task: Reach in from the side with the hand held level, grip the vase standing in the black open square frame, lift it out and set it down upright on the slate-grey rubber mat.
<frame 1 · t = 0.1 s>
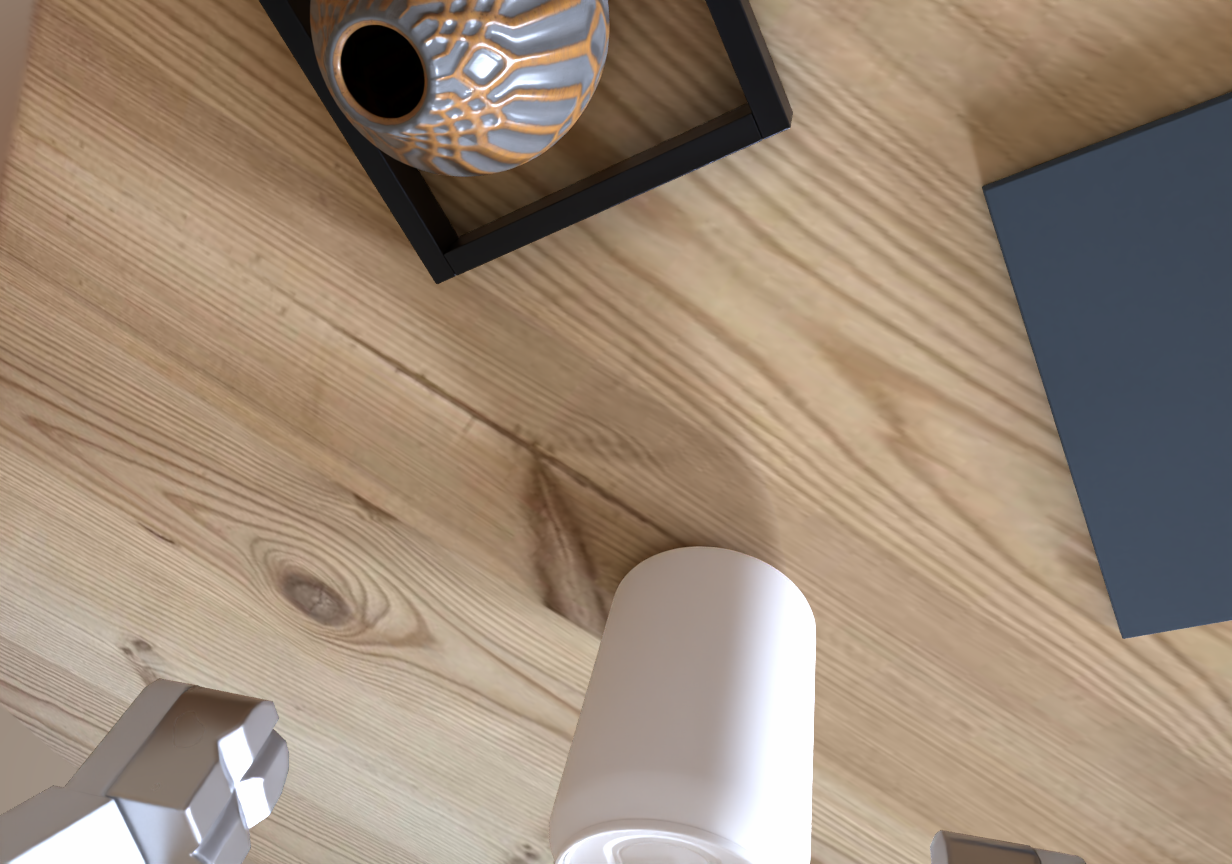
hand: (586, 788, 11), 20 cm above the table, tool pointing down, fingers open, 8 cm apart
vase: (511, 2, 25), resting in black open square frame
black open square frame: (509, 3, 25), on the table
beverage can: (714, 609, 36), on the table
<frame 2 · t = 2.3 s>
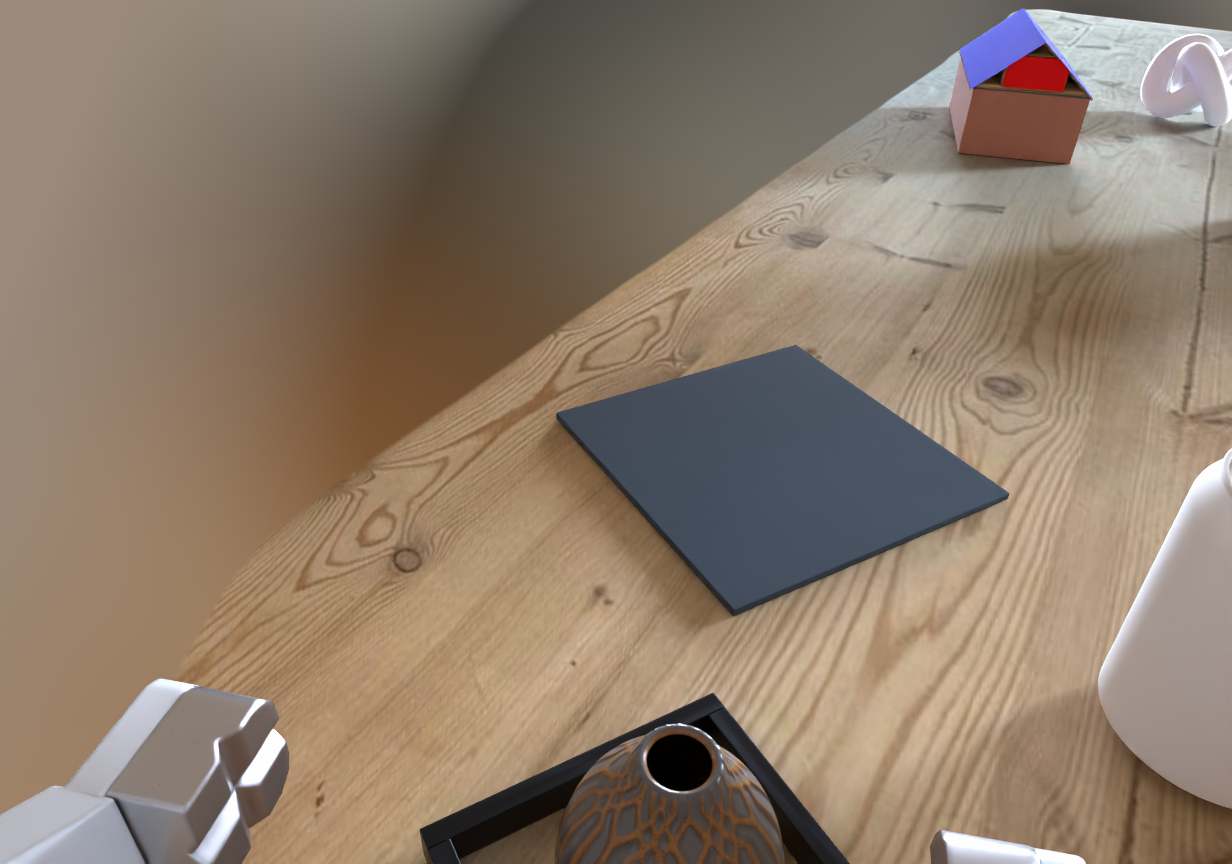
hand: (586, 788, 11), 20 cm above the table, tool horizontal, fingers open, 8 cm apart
white knot sculpture: (1188, 121, 110), on the table
beverage can: (1199, 734, 36), on the table
mat: (770, 456, 51), on the table
house: (1003, 134, 104), on the table
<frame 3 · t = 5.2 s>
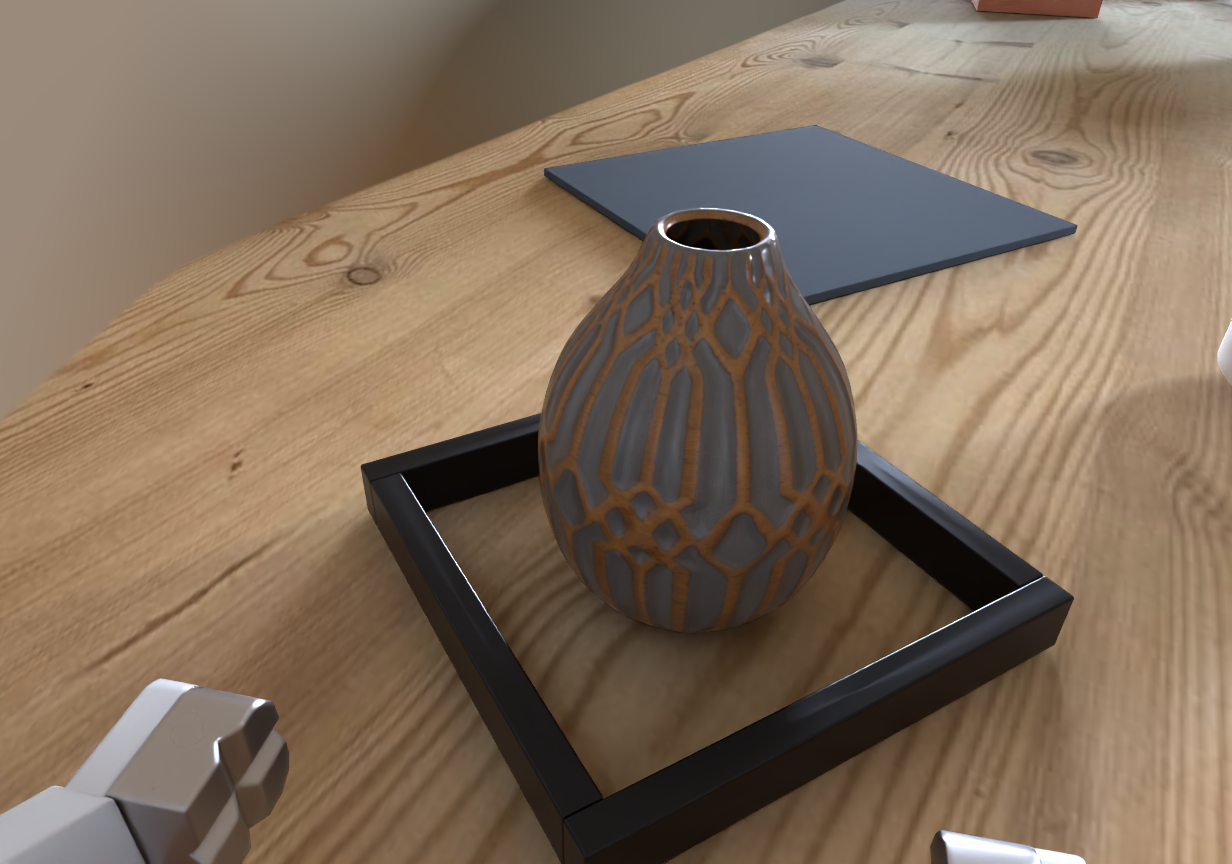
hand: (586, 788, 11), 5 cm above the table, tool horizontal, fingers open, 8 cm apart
vase: (684, 578, 22), resting in black open square frame
black open square frame: (684, 572, 22), on the table
mat: (793, 202, 43), on the table
house: (1023, 1, 97), on the table
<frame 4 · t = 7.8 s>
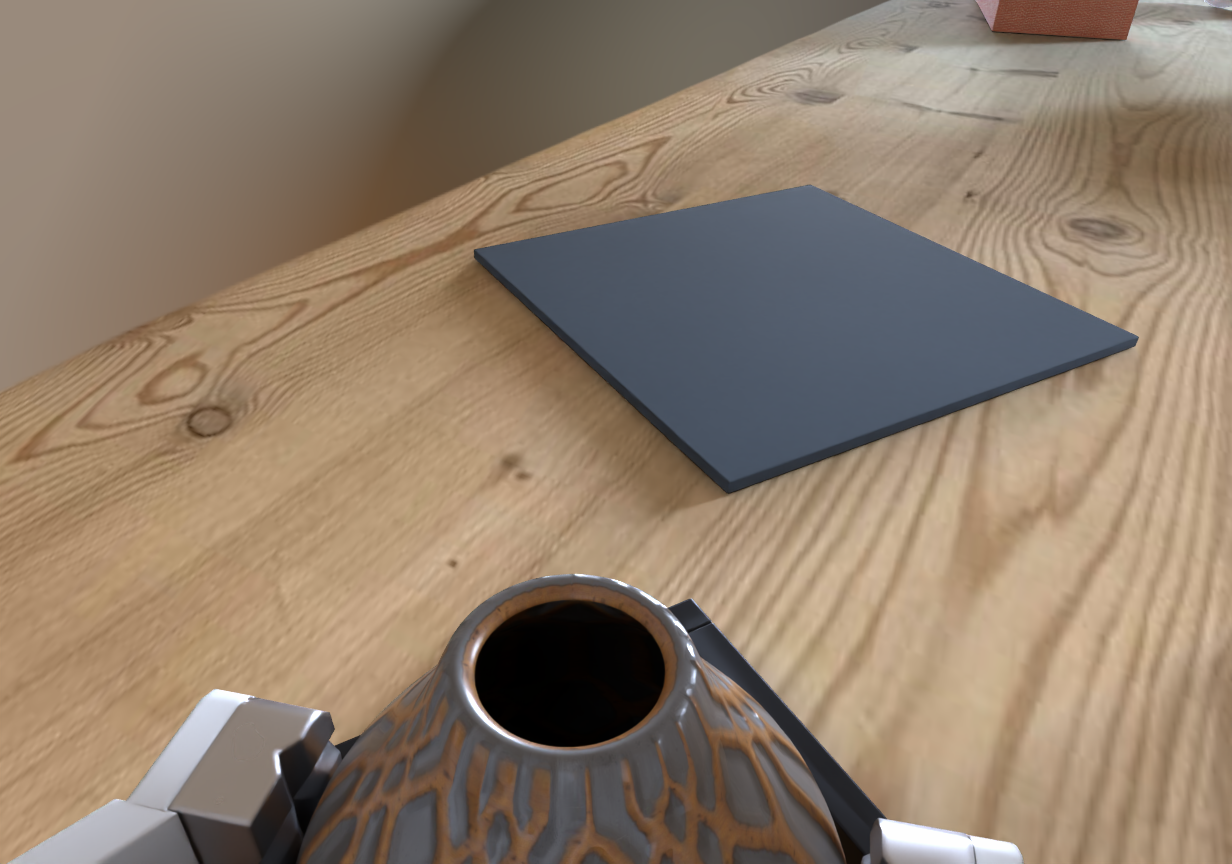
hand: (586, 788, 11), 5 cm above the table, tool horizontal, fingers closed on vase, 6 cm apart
mat: (780, 299, 35), on the table
house: (1042, 19, 88), on the table
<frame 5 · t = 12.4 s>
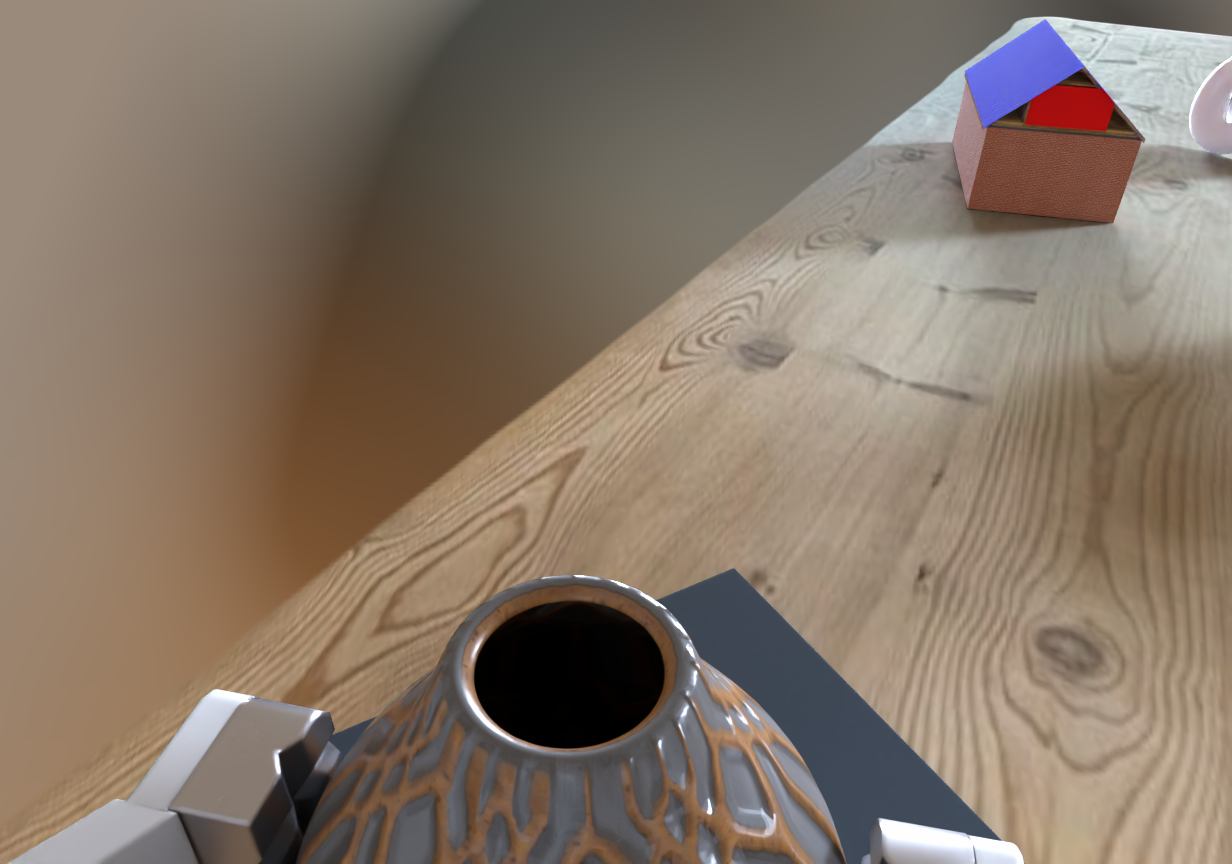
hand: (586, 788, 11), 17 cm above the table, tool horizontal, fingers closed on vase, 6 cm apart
mat: (671, 847, 28), on the table
house: (1023, 180, 82), on the table
when the fingers open (6 cm above the table, at t = 17.2 s): vase stays where it is, resting on mat.
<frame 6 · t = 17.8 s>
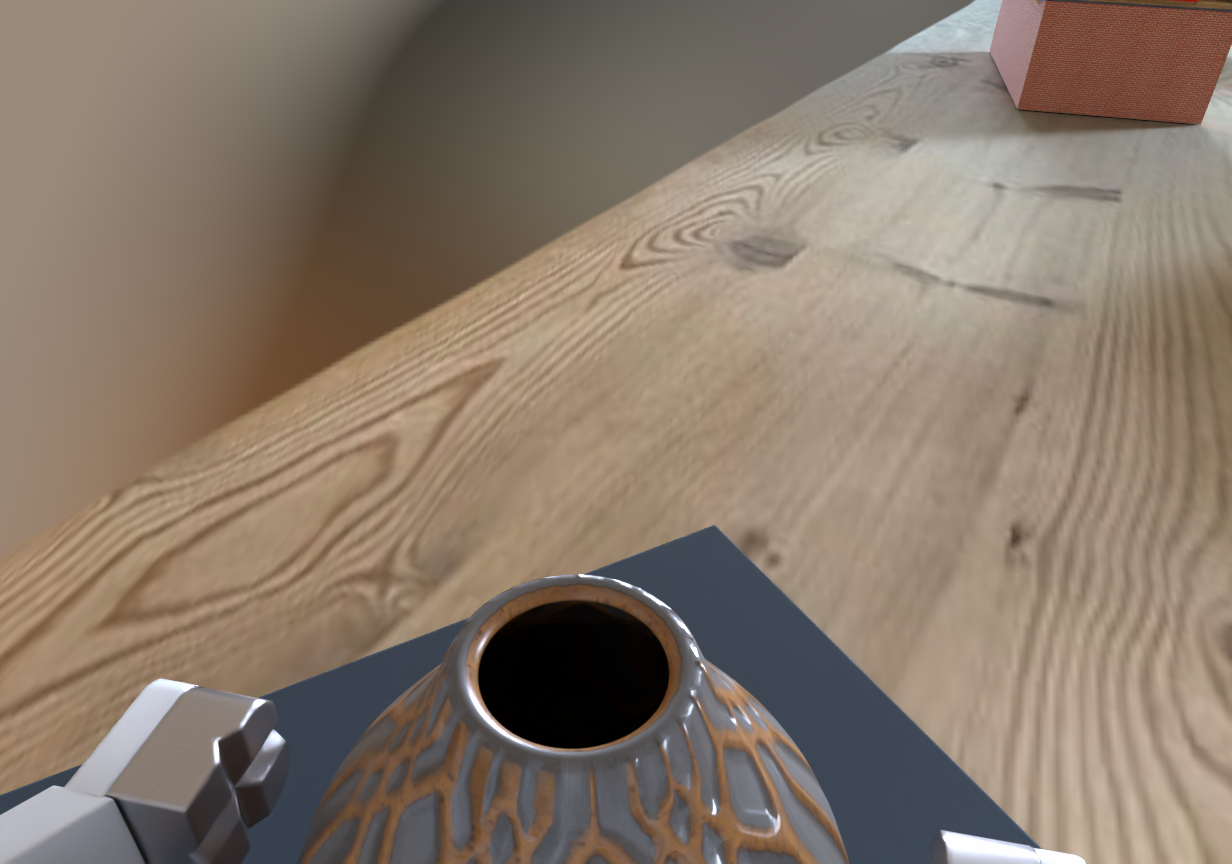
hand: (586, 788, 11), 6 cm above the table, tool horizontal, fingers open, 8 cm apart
house: (1080, 85, 67), on the table
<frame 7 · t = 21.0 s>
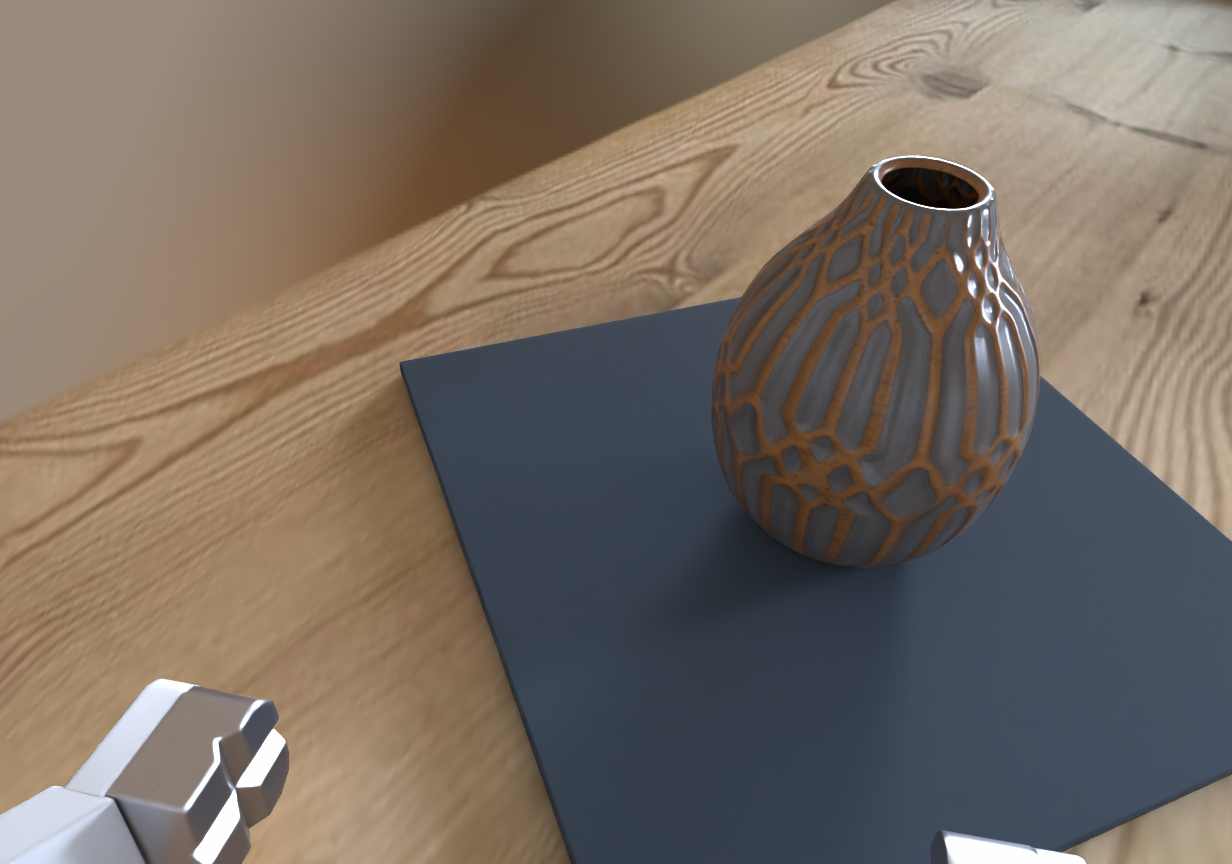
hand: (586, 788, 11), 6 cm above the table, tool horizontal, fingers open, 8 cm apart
vase: (830, 509, 23), resting on mat
mat: (824, 512, 23), on the table
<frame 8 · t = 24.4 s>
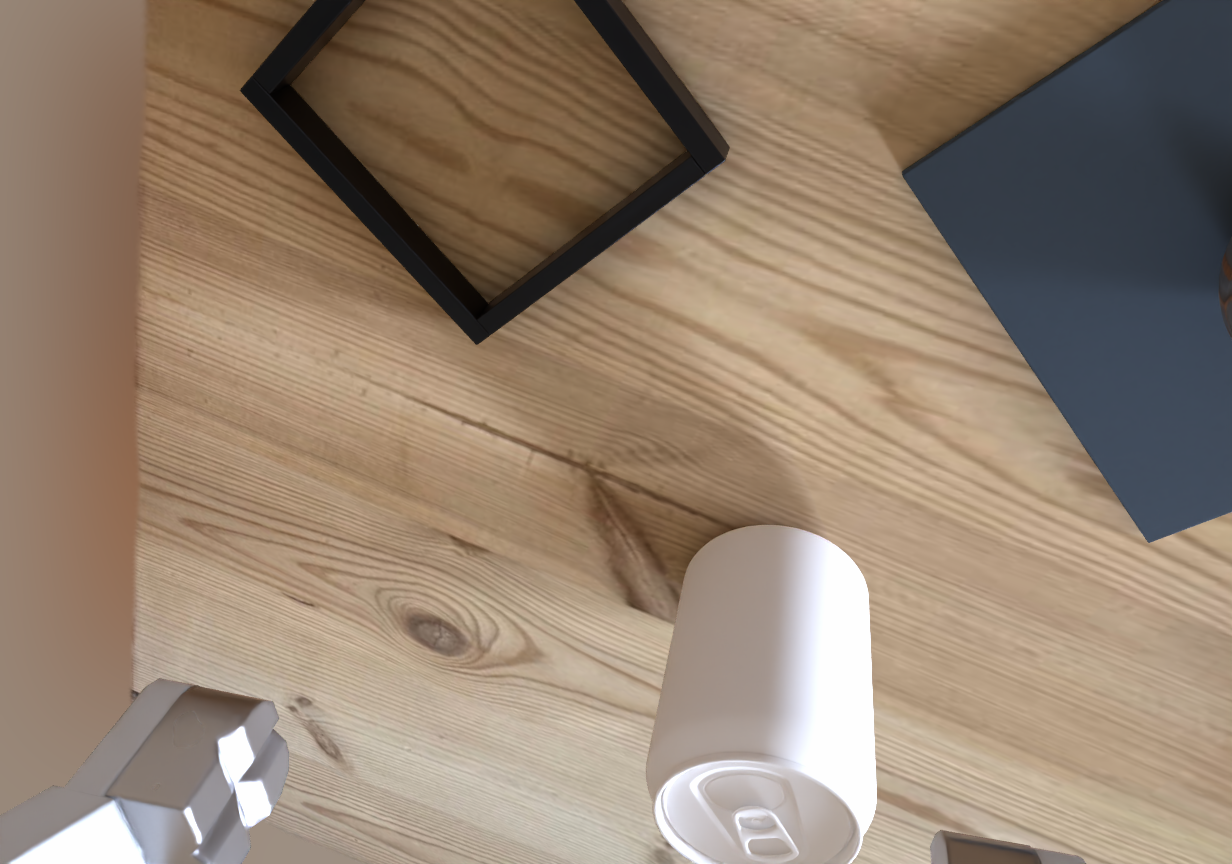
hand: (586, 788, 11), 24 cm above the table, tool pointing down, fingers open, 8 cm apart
black open square frame: (488, 112, 31), on the table
beverage can: (775, 582, 41), on the table
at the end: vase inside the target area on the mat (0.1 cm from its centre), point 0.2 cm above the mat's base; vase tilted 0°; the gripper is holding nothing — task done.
